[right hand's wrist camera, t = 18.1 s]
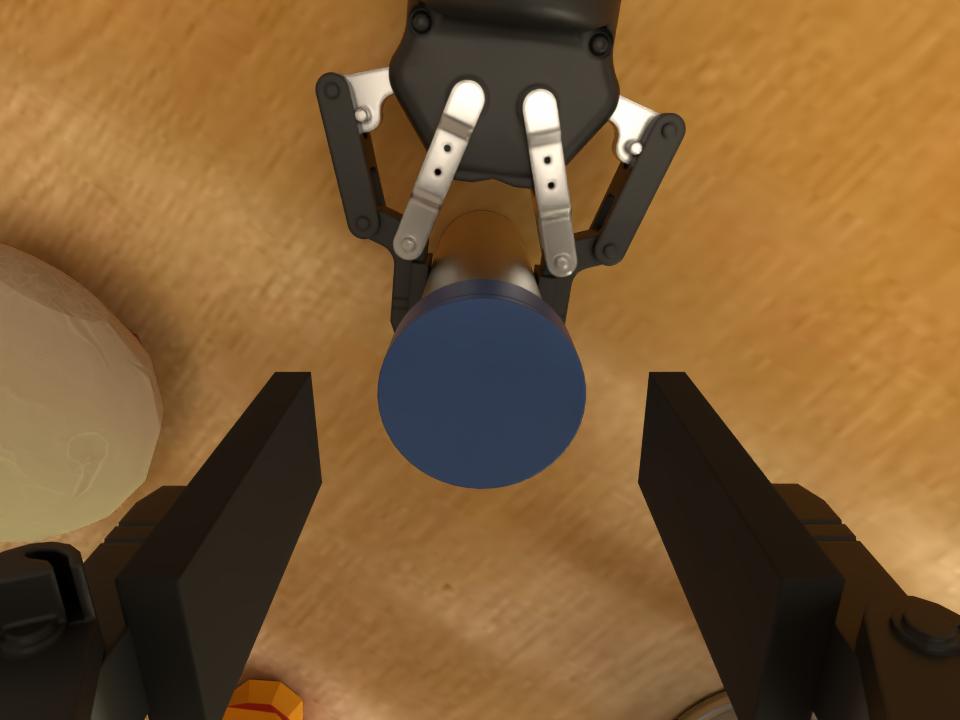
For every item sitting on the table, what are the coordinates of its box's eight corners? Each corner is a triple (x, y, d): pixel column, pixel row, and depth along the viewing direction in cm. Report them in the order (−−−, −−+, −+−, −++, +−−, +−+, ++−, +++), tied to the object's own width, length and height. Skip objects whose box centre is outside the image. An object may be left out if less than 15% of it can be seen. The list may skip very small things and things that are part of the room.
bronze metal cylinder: (479, 313, 34) (478, 496, 18) (420, 252, 33) (360, 388, 17) (542, 256, 33) (602, 395, 17) (483, 191, 32) (485, 273, 16)
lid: (480, 484, 20) (479, 524, 18) (349, 367, 18) (334, 397, 16) (614, 371, 18) (629, 401, 16) (483, 236, 17) (484, 252, 15)
